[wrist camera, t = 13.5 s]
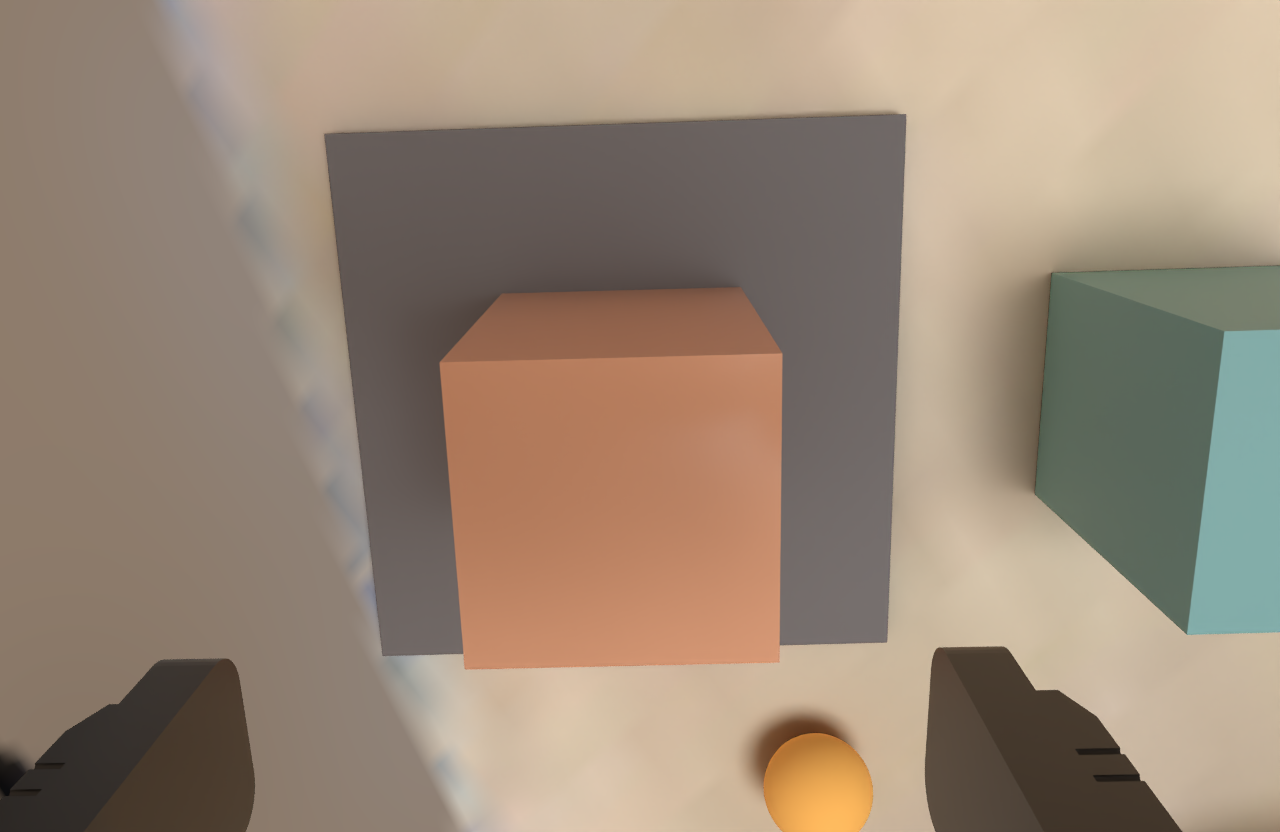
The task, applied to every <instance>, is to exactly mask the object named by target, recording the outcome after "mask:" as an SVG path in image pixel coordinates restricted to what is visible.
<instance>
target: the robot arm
mask: <svg viewBox="0 0 1280 832" xmlns="http://www.w3.org/2000/svg"><path fill="white" fill-rule="evenodd" d="M925 785H926V794H927V801H928V807H929V811H930V816H931V819H932V823H933V826H934V828H935V831H936V832H1182V831H1181V829H1180V828H1179V827H1178V825H1177V824H1176V823H1175V821H1174V820H1173V819H1172V817H1171V816H1170V815H1169V813H1168V812H1167V811H1166V809H1165V808H1164V807H1163V805H1162V804H1161V803H1160V801H1159V800H1158V798H1157V797H1156V796H1155V794H1154V793H1153V792H1152V790H1151V789H1150V788H1149V786H1148V785H1147V784H1146V782H1145V781H1140V774H1139V773H1138V772H1137V770H1136V769H1135V767H1134V766H1133V765H1132V763H1131V762H1130V761H1129V759H1128V758H1127V757H1126V755H1125V754H1121V753H1120V747H1119V746H1118V745H1117V743H1116V742H1115V741H1114V739H1113V738H1112V736H1111V735H1110V734H1109V732H1108V731H1107V730H1106V728H1105V727H1104V726H1103V724H1102V723H1101V722H1100V720H1099V719H1098V718H1097V716H1095V715H1094V714H1092V713H1091V712H1089V711H1088V710H1086V709H1085V708H1083V707H1082V706H1080V705H1079V704H1078V703H1076V702H1075V701H1073V700H1072V699H1070V698H1069V697H1067V696H1066V695H1064V694H1063V693H1061V692H1060V691H1058V690H1037V691H1036V690H1035V689H1034V687H1033V686H1032V684H1031V683H1030V681H1029V680H1028V678H1027V677H1026V675H1025V674H1024V672H1023V671H1022V669H1021V668H1020V666H1019V665H1018V663H1017V662H1016V660H1015V659H1014V657H1013V656H1012V654H1011V653H1010V651H1009V650H1008V649H1007V648H1005V647H1002V646H1000V647H944V648H937V649H936V651H935V653H934V655H933V659H932V666H931V679H930V695H929V711H928V726H927V742H926V757H925ZM254 794H255V778H254V769H253V763H252V756H251V750H250V743H249V737H248V731H247V724H246V718H245V711H244V705H243V699H242V692H241V686H240V680H239V675H238V672H237V669H236V667H235V665H234V664H233V662H232V661H230V660H229V659H181V660H180V659H176V660H174V659H173V660H161V661H159V662H157V663H156V664H155V665H154V666H153V667H152V668H151V669H150V670H149V671H148V672H147V673H146V674H145V676H144V677H143V678H142V679H141V680H140V681H139V682H138V683H137V684H136V686H135V687H134V688H133V689H132V690H131V691H130V692H129V693H128V694H127V695H126V697H125V698H124V699H123V700H122V701H121V702H120V703H119V704H112V705H111V704H109V705H107V706H106V707H104V708H103V709H101V710H99V711H98V712H96V713H94V714H93V715H91V716H90V717H88V718H86V719H85V720H83V721H82V722H80V723H78V724H77V725H75V726H73V727H72V728H70V729H69V730H67V731H65V733H64V734H63V735H62V736H61V737H60V738H59V739H58V740H57V741H56V742H55V743H54V744H53V745H52V746H51V747H50V748H49V749H48V750H47V751H46V752H45V753H44V754H43V755H42V757H41V758H40V759H39V760H38V761H37V762H36V763H35V769H33V770H28V771H27V772H26V773H25V774H24V776H23V777H22V778H21V779H20V780H19V781H18V782H17V783H16V784H15V785H14V786H13V787H12V788H11V789H10V795H9V796H4V797H3V798H2V799H1V800H0V832H245V831H246V829H247V827H248V824H249V821H250V817H251V813H252V808H253V802H254Z"/></svg>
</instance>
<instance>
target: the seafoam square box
mask: <svg viewBox="0 0 1280 832" xmlns="http://www.w3.org/2000/svg"><path fill="white" fill-rule="evenodd" d="M1035 495H1036V496H1037V497H1038V498H1039V499H1040V500H1041V501H1043V502H1044V503H1045V504H1046V505H1047V506H1048V507H1049V508H1050V509H1051V510H1052V511H1053V512H1055V513H1056V514H1057V515H1058V516H1059V517H1060V518H1061V519H1062V520H1063V521H1064V522H1065V523H1066V524H1068V525H1069V526H1070V527H1071V528H1072V529H1073V530H1074V531H1075V532H1076V533H1077V534H1078V535H1079V536H1081V537H1082V538H1083V539H1084V540H1085V541H1086V542H1087V543H1088V544H1089V545H1090V546H1091V547H1092V548H1094V549H1095V550H1096V551H1097V552H1098V553H1099V554H1100V555H1101V556H1102V557H1103V558H1104V559H1105V560H1107V561H1108V562H1109V563H1110V564H1111V565H1112V566H1113V567H1114V568H1115V569H1116V570H1117V571H1118V572H1120V573H1121V574H1122V575H1123V576H1124V577H1125V578H1126V579H1127V580H1128V581H1129V582H1130V583H1132V584H1133V585H1134V586H1135V587H1136V588H1137V589H1138V590H1139V591H1140V592H1141V593H1142V594H1143V595H1145V596H1146V597H1147V598H1148V599H1149V600H1150V601H1151V602H1152V603H1153V604H1154V605H1155V606H1156V607H1158V608H1159V609H1160V610H1161V611H1162V612H1163V613H1164V614H1165V615H1166V616H1167V617H1168V618H1169V619H1171V620H1172V621H1173V622H1174V623H1175V624H1176V625H1177V626H1178V627H1179V628H1180V629H1181V630H1182V631H1184V632H1185V633H1186V634H1187V635H1194V634H1231V633H1269V632H1280V266H1251V267H1219V268H1187V269H1156V270H1124V271H1093V272H1061V273H1052V275H1051V288H1050V301H1049V315H1048V328H1047V341H1046V354H1045V367H1044V380H1043V393H1042V407H1041V420H1040V433H1039V446H1038V459H1037V472H1036V485H1035Z"/></svg>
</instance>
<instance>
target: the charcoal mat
mask: <svg viewBox="0 0 1280 832" xmlns="http://www.w3.org/2000/svg"><path fill="white" fill-rule="evenodd" d="M905 137H906V114H899V115H869V116H839V117H810V118H780V119H751V120H721V121H692V122H662V123H633V124H603V125H574V126H544V127H514V128H485V129H455V130H426V131H396V132H367V133H337V134H325V143H326V152H327V161H328V170H329V179H330V188H331V197H332V206H333V215H334V224H335V233H336V242H337V251H338V260H339V269H340V278H341V287H342V296H343V305H344V314H345V323H346V332H347V341H348V350H349V359H350V368H351V377H352V386H353V395H354V404H355V412H356V421H357V430H358V439H359V448H360V457H361V466H362V475H363V484H364V493H365V502H366V511H367V520H368V529H369V538H370V547H371V556H372V565H373V574H374V583H375V592H376V601H377V610H378V619H379V628H380V637H381V646H382V655H383V656H399V655H436V654H464V653H463V641H462V629H461V617H460V605H459V593H458V580H457V568H456V556H455V544H454V532H453V520H452V508H451V496H450V483H449V471H448V459H447V447H446V435H445V423H444V411H443V398H442V386H441V374H440V361H441V360H442V359H443V358H444V357H445V356H446V355H447V354H448V352H449V351H450V350H451V349H452V348H453V347H454V346H455V345H456V344H457V343H458V341H459V340H460V339H461V338H462V337H463V336H464V335H465V334H466V333H467V331H468V330H469V329H470V328H471V327H472V326H473V325H474V324H475V323H476V322H477V320H478V319H479V318H480V317H481V316H482V315H483V314H484V313H485V312H486V311H487V309H488V308H489V307H490V306H491V305H492V304H493V303H494V302H495V301H496V299H497V298H498V297H499V296H500V295H501V294H503V293H540V292H578V291H615V290H652V289H689V288H727V287H741V288H742V290H743V291H744V293H745V295H746V296H747V298H748V299H749V301H750V303H751V304H752V306H753V307H754V309H755V311H756V312H757V314H758V315H759V317H760V318H761V320H762V322H763V323H764V325H765V326H766V328H767V330H768V331H769V333H770V334H771V336H772V338H773V339H774V341H775V342H776V344H777V346H778V347H779V349H780V350H781V352H782V451H781V549H780V645H809V644H846V643H884V642H887V633H888V605H889V578H890V550H891V523H892V495H893V467H894V440H895V412H896V385H897V357H898V330H899V302H900V274H901V247H902V219H903V192H904V164H905Z"/></svg>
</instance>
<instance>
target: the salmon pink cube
mask: <svg viewBox="0 0 1280 832" xmlns="http://www.w3.org/2000/svg"><path fill="white" fill-rule="evenodd" d="M440 374H441V386H442V398H443V411H444V423H445V435H446V447H447V459H448V471H449V483H450V496H451V508H452V520H453V532H454V544H455V556H456V568H457V580H458V593H459V605H460V617H461V629H462V641H463V653H464V665H465V669H506V668H550V667H595V666H640V665H685V664H730V663H774V662H779V648H780V549H781V451H782V352H781V350H780V349H779V347H778V346H777V344H776V342H775V341H774V339H773V338H772V336H771V334H770V333H769V331H768V330H767V328H766V326H765V325H764V323H763V322H762V320H761V318H760V317H759V315H758V314H757V312H756V311H755V309H754V307H753V306H752V304H751V303H750V301H749V299H748V298H747V296H746V295H745V293H744V291H743V290H742V288H741V287H727V288H689V289H652V290H615V291H578V292H540V293H503V294H501V295H500V296H499V297H498V298H497V299H496V301H495V302H494V303H493V304H492V305H491V306H490V307H489V308H488V309H487V311H486V312H485V313H484V314H483V315H482V316H481V317H480V318H479V319H478V320H477V322H476V323H475V324H474V325H473V326H472V327H471V328H470V329H469V330H468V331H467V333H466V334H465V335H464V336H463V337H462V338H461V339H460V340H459V341H458V343H457V344H456V345H455V346H454V347H453V348H452V349H451V350H450V351H449V352H448V354H447V355H446V356H445V357H444V358H443V359H442V360H441V361H440Z"/></svg>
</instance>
